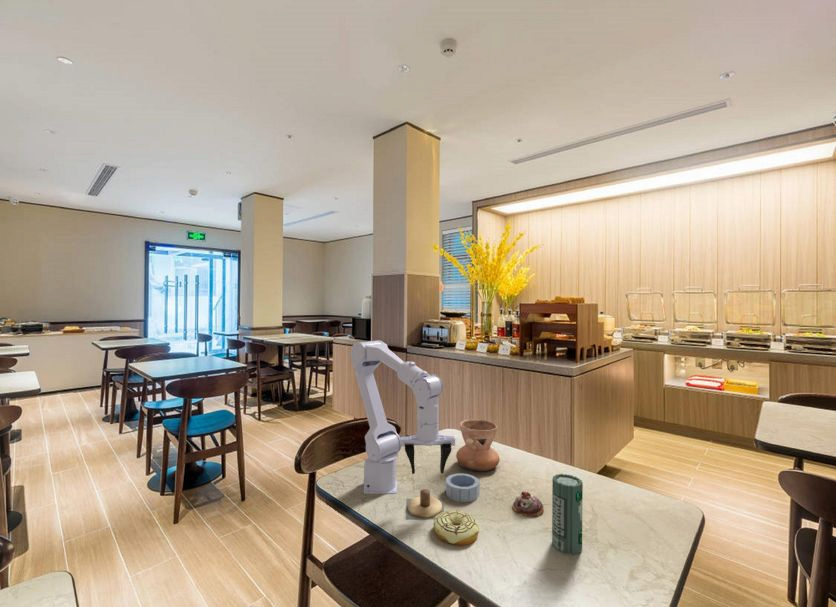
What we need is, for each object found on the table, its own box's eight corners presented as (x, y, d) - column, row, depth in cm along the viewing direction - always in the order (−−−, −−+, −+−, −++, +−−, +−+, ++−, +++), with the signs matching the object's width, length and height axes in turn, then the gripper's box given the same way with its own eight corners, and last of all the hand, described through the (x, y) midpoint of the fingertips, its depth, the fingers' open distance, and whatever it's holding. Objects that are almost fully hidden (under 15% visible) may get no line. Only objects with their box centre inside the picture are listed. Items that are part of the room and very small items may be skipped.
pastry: (511, 514, 101) (511, 495, 100) (514, 500, 108) (514, 482, 108) (543, 520, 98) (543, 500, 98) (544, 505, 105) (544, 487, 105)
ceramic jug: (489, 481, 119) (490, 435, 119) (447, 469, 126) (448, 426, 126) (507, 461, 134) (508, 421, 134) (468, 452, 141) (469, 414, 142)
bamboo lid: (408, 518, 97) (408, 500, 97) (408, 499, 106) (408, 483, 106) (443, 517, 98) (443, 500, 98) (440, 499, 107) (440, 483, 106)
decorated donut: (453, 555, 84) (453, 538, 84) (425, 531, 93) (425, 515, 93) (487, 538, 90) (487, 522, 90) (457, 517, 99) (457, 502, 99)
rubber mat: (405, 520, 97) (405, 519, 97) (406, 500, 107) (406, 498, 107) (445, 520, 97) (445, 518, 97) (442, 500, 107) (442, 498, 107)
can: (587, 551, 85) (587, 484, 85) (564, 556, 84) (564, 488, 83) (569, 535, 91) (569, 472, 91) (547, 539, 89) (547, 475, 89)
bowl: (447, 503, 105) (447, 488, 105) (444, 486, 115) (444, 473, 115) (481, 503, 105) (481, 488, 105) (476, 486, 115) (476, 473, 115)
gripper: (401, 426, 98) (400, 479, 98) (457, 425, 99) (456, 478, 99) (400, 418, 105) (400, 467, 105) (453, 417, 106) (452, 466, 106)
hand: (427, 472), depth 102 cm, fingers open, 7 cm apart
